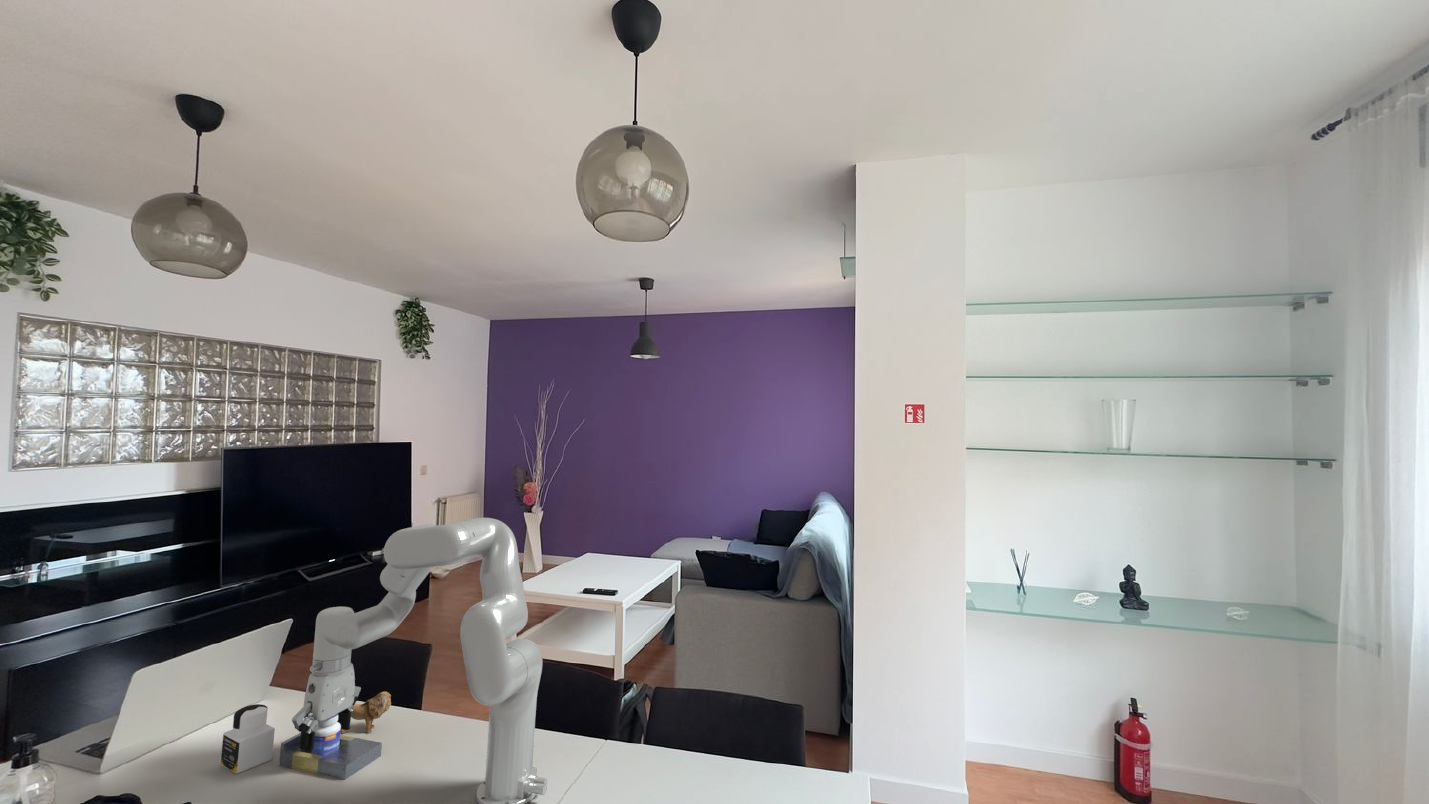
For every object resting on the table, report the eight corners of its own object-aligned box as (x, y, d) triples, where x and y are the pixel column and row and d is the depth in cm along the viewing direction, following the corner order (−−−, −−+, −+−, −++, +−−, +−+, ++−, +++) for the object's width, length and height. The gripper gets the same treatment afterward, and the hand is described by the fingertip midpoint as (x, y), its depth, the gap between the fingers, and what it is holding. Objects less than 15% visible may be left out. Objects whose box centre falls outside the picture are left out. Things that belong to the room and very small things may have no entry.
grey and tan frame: (380, 756, 137) (382, 734, 137) (345, 779, 127) (347, 755, 128) (318, 743, 141) (320, 722, 142) (279, 765, 132) (281, 742, 132)
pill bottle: (324, 767, 132) (328, 723, 132) (304, 764, 133) (308, 719, 133) (344, 755, 137) (347, 712, 138) (324, 751, 138) (328, 709, 139)
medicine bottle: (219, 765, 131) (224, 710, 132) (256, 750, 137) (261, 698, 138) (235, 774, 128) (240, 718, 128) (272, 759, 134) (277, 705, 135)
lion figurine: (392, 722, 153) (394, 687, 153) (385, 733, 148) (388, 696, 148) (329, 727, 149) (332, 690, 150) (320, 737, 144) (323, 700, 145)
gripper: (311, 679, 127) (304, 761, 126) (374, 652, 144) (369, 724, 143) (283, 675, 129) (276, 755, 128) (349, 648, 145) (343, 719, 144)
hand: (325, 738), depth 135 cm, fingers open, 9 cm apart
